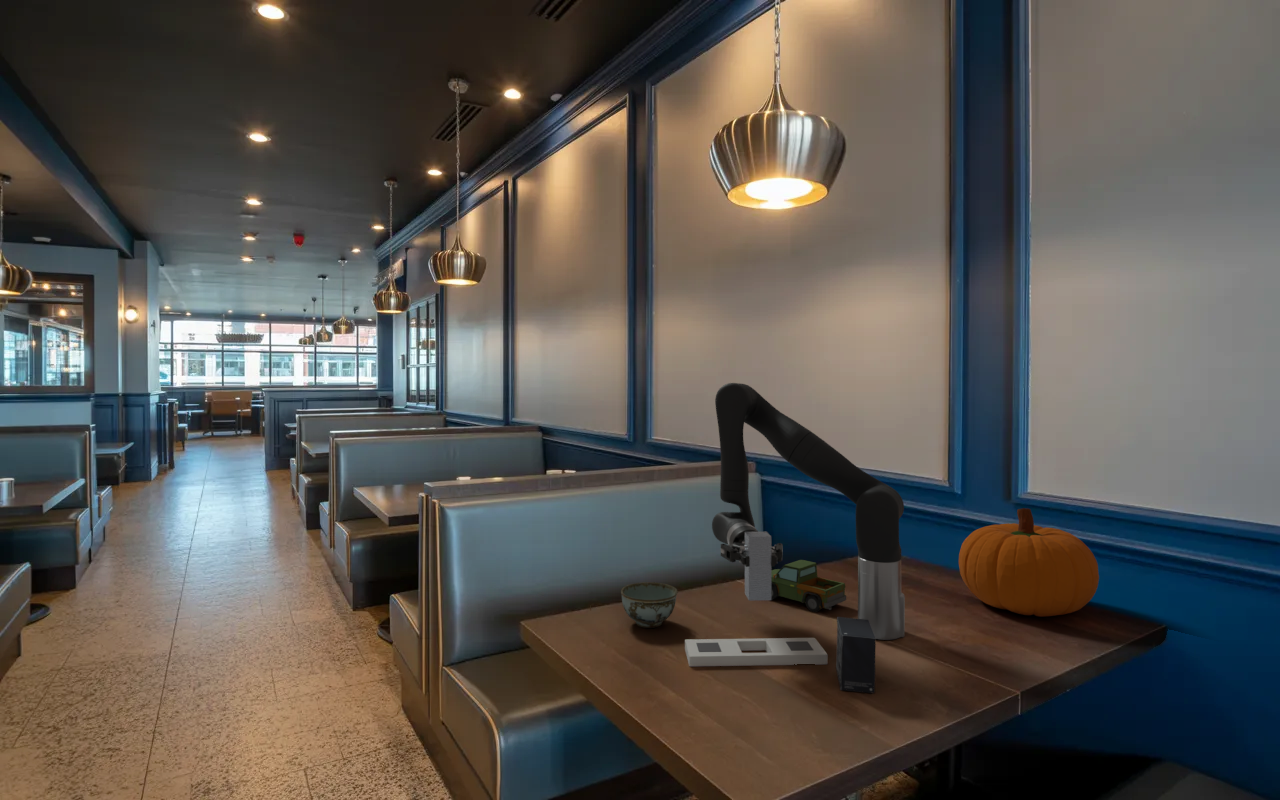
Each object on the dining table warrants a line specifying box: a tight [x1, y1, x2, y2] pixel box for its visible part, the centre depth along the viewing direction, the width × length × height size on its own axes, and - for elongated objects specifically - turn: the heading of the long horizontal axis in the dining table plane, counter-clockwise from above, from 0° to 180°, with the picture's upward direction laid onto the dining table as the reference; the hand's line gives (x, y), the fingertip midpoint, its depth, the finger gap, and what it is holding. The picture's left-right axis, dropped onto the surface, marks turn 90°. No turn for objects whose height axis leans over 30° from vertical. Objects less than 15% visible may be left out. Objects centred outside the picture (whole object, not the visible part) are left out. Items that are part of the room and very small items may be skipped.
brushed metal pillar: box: [744, 531, 772, 601], centre depth 138 cm, size 5×5×13 cm
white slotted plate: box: [684, 637, 829, 667], centre depth 140 cm, size 28×9×2 cm, turn 92°
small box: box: [835, 616, 877, 694], centre depth 128 cm, size 11×6×10 cm, turn 168°
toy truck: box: [770, 559, 847, 613], centre depth 175 cm, size 11×21×10 cm, turn 43°
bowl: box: [620, 581, 679, 629], centre depth 159 cm, size 14×13×8 cm
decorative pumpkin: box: [958, 507, 1100, 618], centre depth 171 cm, size 31×30×25 cm
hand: (760, 561), depth 136 cm, fingers closed on brushed metal pillar, 4 cm apart
